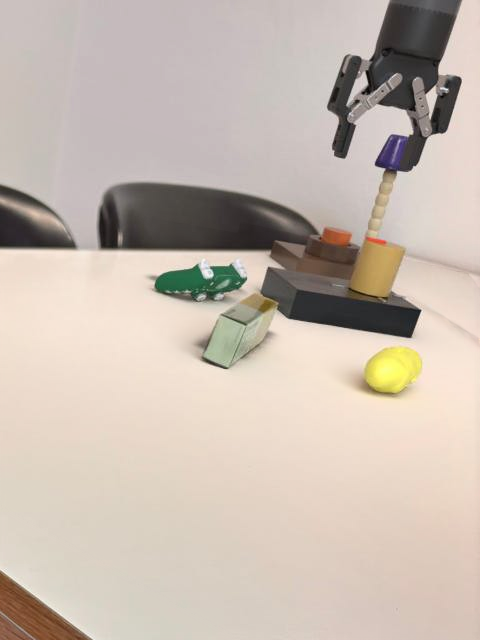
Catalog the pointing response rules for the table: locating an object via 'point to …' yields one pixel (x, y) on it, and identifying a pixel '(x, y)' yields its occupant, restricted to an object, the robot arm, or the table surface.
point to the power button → (336, 236)
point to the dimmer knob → (377, 267)
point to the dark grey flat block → (338, 303)
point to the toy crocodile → (203, 280)
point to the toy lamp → (386, 179)
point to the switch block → (317, 257)
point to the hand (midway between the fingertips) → (372, 163)
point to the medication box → (239, 330)
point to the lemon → (393, 369)
